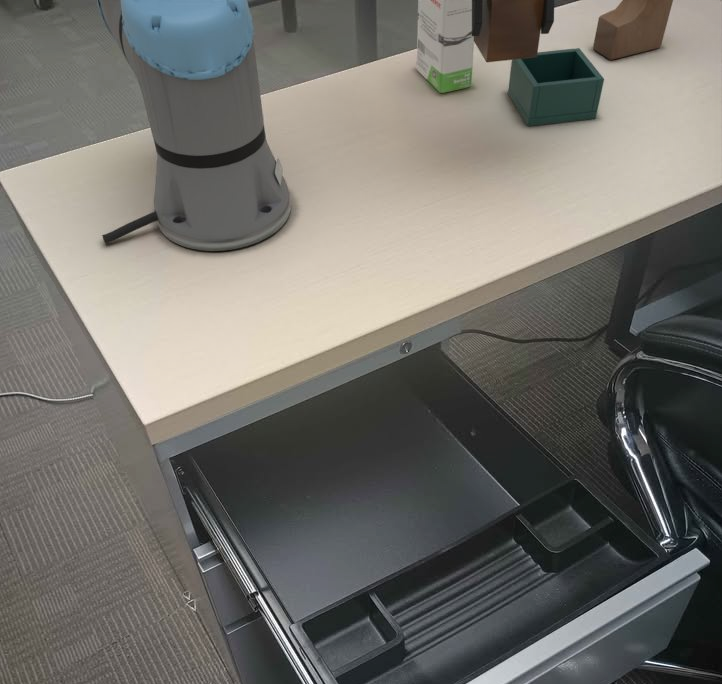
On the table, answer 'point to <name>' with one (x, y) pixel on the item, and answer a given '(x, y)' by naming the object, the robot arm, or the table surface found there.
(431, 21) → the ink box
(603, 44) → the wooden block
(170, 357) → the table surface
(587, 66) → the open box
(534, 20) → the post
